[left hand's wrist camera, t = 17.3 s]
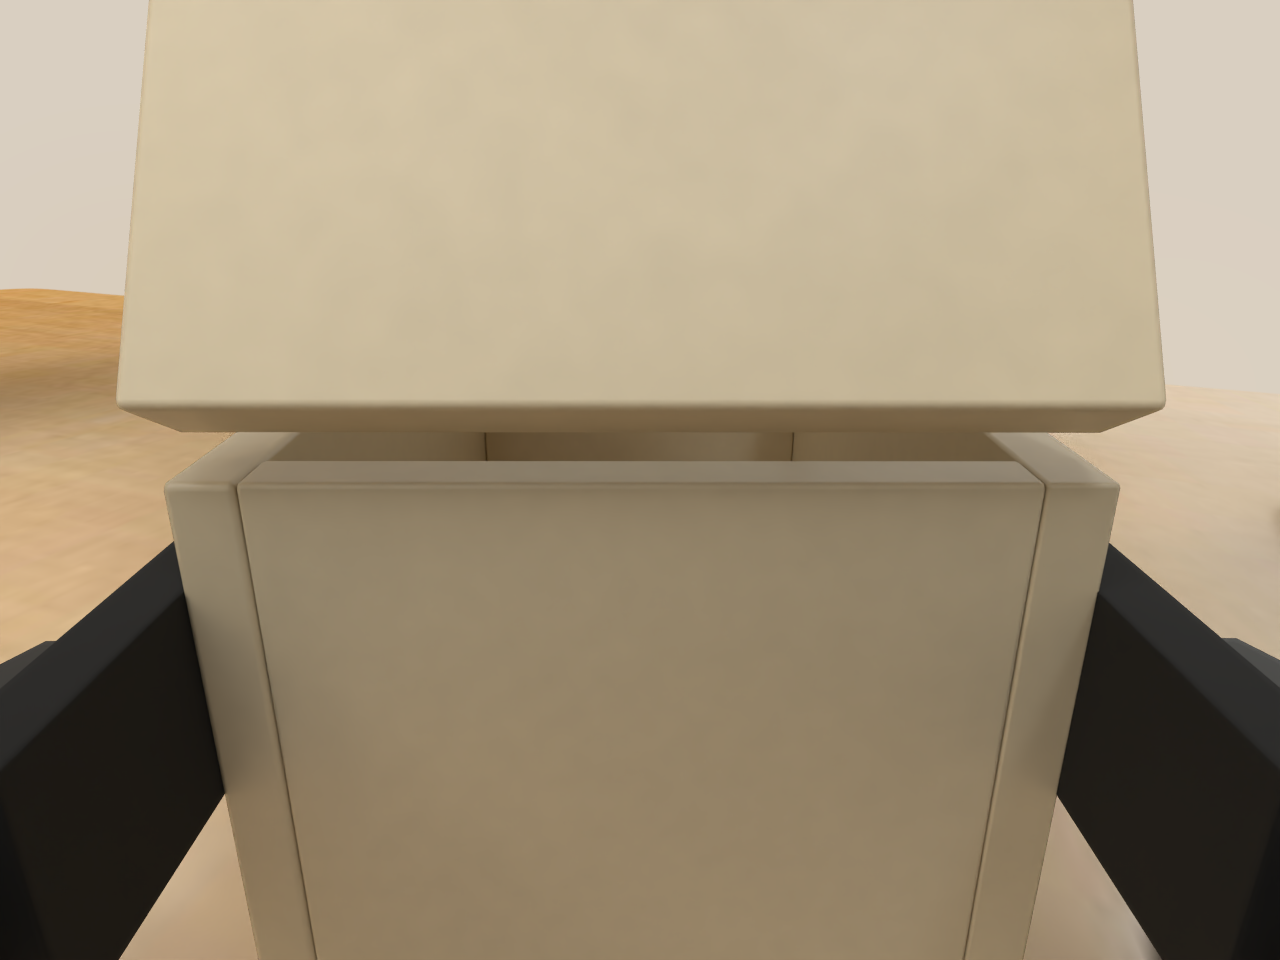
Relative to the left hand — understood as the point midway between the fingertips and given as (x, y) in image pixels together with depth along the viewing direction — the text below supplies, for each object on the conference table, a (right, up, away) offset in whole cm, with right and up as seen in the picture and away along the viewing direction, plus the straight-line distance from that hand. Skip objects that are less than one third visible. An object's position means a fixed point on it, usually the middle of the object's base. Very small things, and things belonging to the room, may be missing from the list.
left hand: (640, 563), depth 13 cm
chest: (0, -5, +6) cm, 8 cm away
